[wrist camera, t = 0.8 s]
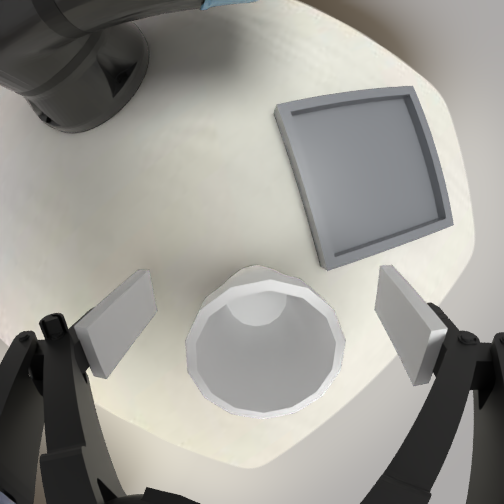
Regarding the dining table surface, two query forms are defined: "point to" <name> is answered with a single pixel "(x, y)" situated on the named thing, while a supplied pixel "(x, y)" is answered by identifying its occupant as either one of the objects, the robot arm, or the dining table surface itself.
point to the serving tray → (364, 171)
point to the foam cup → (264, 344)
